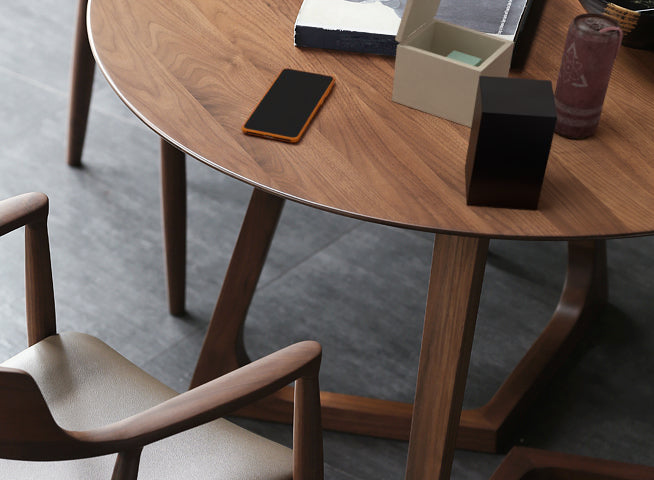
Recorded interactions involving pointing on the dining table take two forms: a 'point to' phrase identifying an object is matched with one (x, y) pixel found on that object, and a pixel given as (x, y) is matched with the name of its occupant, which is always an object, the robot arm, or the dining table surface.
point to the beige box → (446, 69)
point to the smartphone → (289, 105)
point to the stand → (509, 142)
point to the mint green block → (465, 58)
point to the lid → (416, 16)
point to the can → (585, 73)
